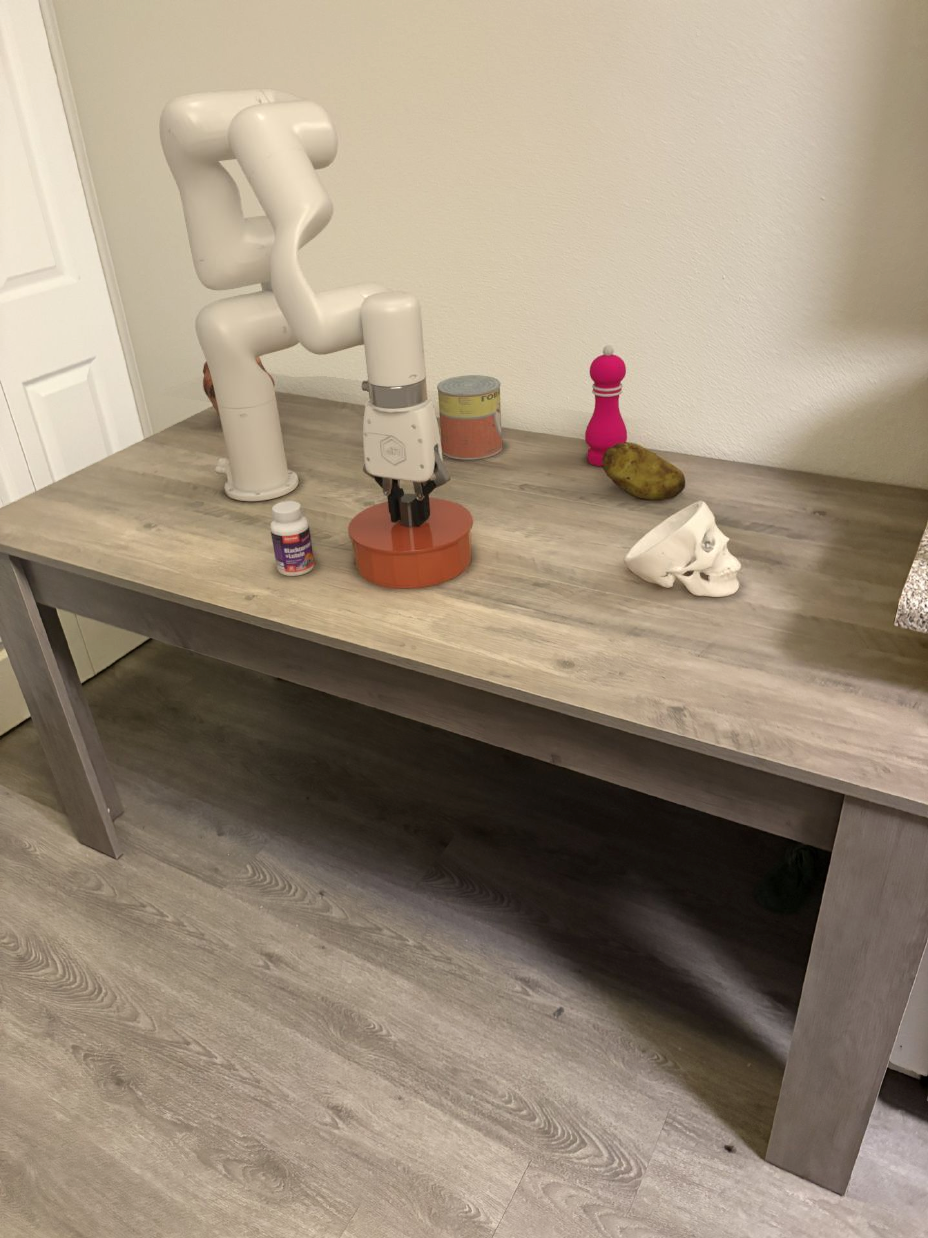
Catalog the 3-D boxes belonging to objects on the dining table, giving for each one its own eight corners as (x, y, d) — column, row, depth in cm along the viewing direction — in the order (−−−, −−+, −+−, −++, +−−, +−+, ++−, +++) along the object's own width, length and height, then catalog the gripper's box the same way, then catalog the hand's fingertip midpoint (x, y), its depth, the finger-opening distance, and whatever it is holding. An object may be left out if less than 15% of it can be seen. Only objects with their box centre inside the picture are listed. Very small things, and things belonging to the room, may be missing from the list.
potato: (660, 512, 142) (663, 464, 138) (593, 492, 150) (594, 446, 146) (690, 495, 147) (693, 447, 143) (623, 476, 155) (625, 431, 150)
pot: (334, 576, 130) (329, 541, 127) (392, 528, 142) (388, 495, 139) (439, 597, 123) (436, 560, 120) (489, 544, 136) (488, 510, 133)
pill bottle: (289, 581, 129) (278, 518, 124) (270, 568, 133) (259, 506, 128) (322, 568, 132) (312, 506, 127) (303, 556, 136) (293, 495, 131)
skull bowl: (745, 602, 115) (698, 519, 112) (650, 634, 124) (605, 558, 121) (762, 564, 123) (719, 486, 120) (672, 597, 131) (630, 524, 129)
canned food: (503, 458, 165) (501, 392, 158) (440, 461, 165) (435, 395, 159) (501, 436, 174) (499, 373, 168) (442, 439, 175) (438, 376, 168)
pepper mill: (629, 454, 163) (634, 340, 153) (621, 469, 157) (626, 352, 147) (589, 451, 165) (591, 338, 155) (580, 466, 159) (581, 350, 149)
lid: (325, 546, 127) (320, 514, 124) (388, 497, 140) (384, 467, 138) (438, 567, 120) (435, 533, 117) (493, 513, 133) (491, 481, 131)
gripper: (330, 395, 120) (346, 523, 130) (441, 407, 114) (450, 540, 123) (359, 379, 126) (373, 502, 136) (467, 389, 119) (474, 517, 129)
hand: (410, 519), depth 129 cm, fingers closed on lid, 3 cm apart
